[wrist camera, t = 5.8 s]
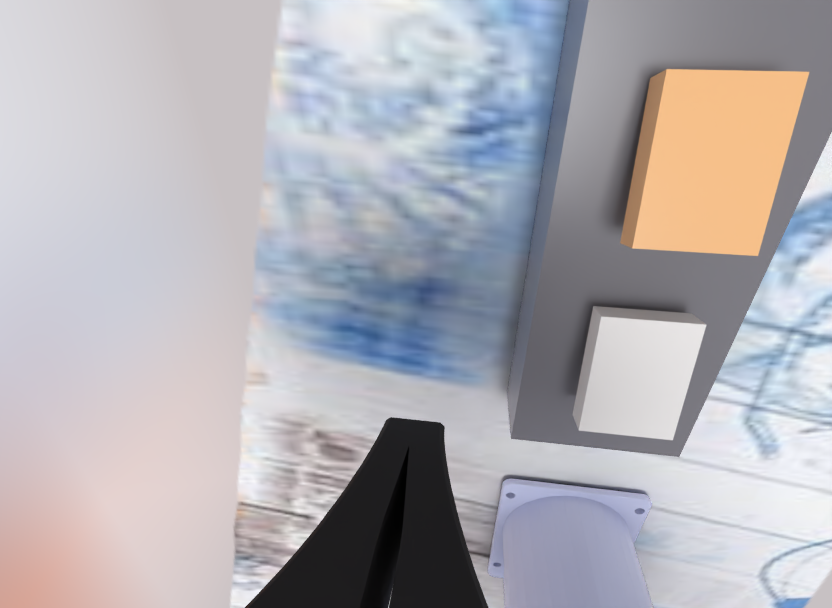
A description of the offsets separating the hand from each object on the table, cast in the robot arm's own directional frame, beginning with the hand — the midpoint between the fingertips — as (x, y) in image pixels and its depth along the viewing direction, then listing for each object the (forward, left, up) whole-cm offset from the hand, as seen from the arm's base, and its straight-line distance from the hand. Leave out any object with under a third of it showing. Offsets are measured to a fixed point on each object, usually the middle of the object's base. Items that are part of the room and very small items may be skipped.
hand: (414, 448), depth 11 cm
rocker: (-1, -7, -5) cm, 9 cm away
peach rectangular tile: (+6, -7, -5) cm, 11 cm away
